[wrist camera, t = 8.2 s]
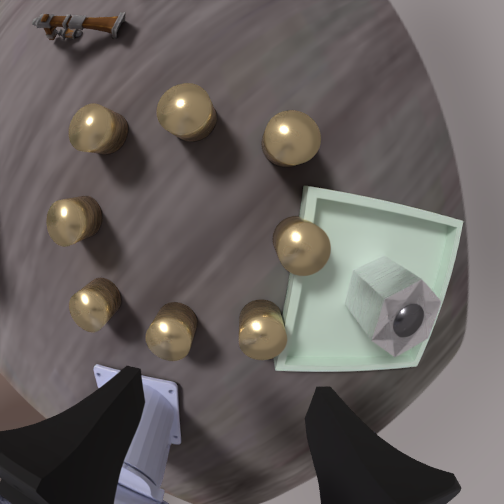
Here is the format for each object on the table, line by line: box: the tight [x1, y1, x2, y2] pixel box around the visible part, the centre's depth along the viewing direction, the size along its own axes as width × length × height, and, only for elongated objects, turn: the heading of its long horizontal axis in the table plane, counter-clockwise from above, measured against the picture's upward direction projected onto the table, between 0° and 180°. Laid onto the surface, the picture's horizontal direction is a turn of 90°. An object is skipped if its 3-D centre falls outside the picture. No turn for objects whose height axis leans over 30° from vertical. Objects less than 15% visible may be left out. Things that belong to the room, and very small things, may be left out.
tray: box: [274, 186, 463, 372], centre depth 18 cm, size 13×13×2 cm
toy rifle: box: [32, 12, 125, 40], centre depth 12 cm, size 2×8×4 cm, turn 76°
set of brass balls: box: [47, 83, 331, 361], centre depth 16 cm, size 17×18×3 cm
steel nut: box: [345, 256, 442, 357], centre depth 16 cm, size 5×4×5 cm
